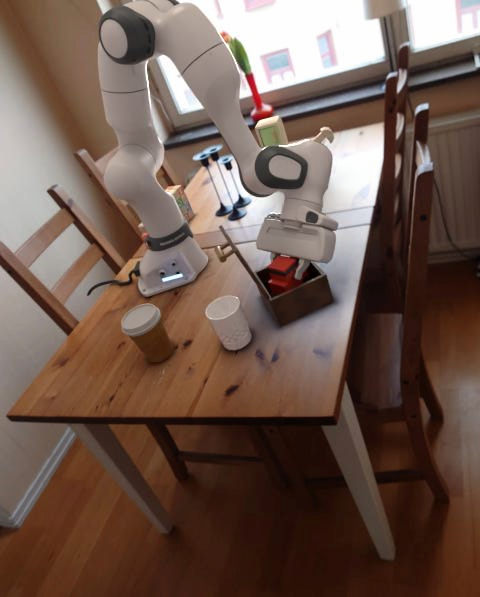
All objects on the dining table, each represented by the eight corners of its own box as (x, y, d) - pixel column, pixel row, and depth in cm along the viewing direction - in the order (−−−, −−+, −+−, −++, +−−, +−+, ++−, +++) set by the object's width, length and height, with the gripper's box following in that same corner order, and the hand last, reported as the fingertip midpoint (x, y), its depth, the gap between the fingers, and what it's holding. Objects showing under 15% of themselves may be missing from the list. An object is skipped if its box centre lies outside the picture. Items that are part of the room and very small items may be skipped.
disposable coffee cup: (138, 352, 116) (115, 316, 109) (172, 333, 118) (152, 296, 111) (147, 374, 108) (123, 336, 102) (184, 353, 110) (162, 315, 103)
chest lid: (221, 224, 104) (205, 235, 104) (237, 250, 93) (218, 262, 93) (252, 270, 112) (237, 280, 112) (270, 298, 101) (253, 310, 101)
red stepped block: (290, 302, 106) (280, 274, 102) (273, 297, 110) (262, 270, 105) (311, 281, 110) (302, 253, 105) (294, 277, 113) (284, 249, 109)
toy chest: (311, 274, 117) (303, 248, 113) (334, 302, 106) (326, 274, 102) (261, 297, 117) (251, 272, 112) (279, 327, 106) (269, 301, 101)
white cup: (235, 325, 112) (220, 292, 106) (260, 332, 107) (246, 298, 101) (214, 347, 108) (198, 315, 102) (240, 356, 103) (224, 322, 97)
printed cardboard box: (163, 249, 156) (146, 217, 150) (149, 249, 160) (132, 218, 153) (195, 214, 170) (181, 184, 163) (181, 215, 173) (167, 185, 166)
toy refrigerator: (272, 185, 167) (253, 128, 155) (276, 176, 172) (258, 120, 161) (293, 181, 164) (276, 122, 152) (297, 171, 169) (281, 114, 157)
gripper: (257, 208, 111) (244, 266, 112) (328, 217, 97) (312, 283, 98) (275, 214, 115) (261, 270, 116) (345, 224, 101) (329, 287, 102)
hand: (285, 276), depth 107 cm, fingers closed on red stepped block, 5 cm apart
